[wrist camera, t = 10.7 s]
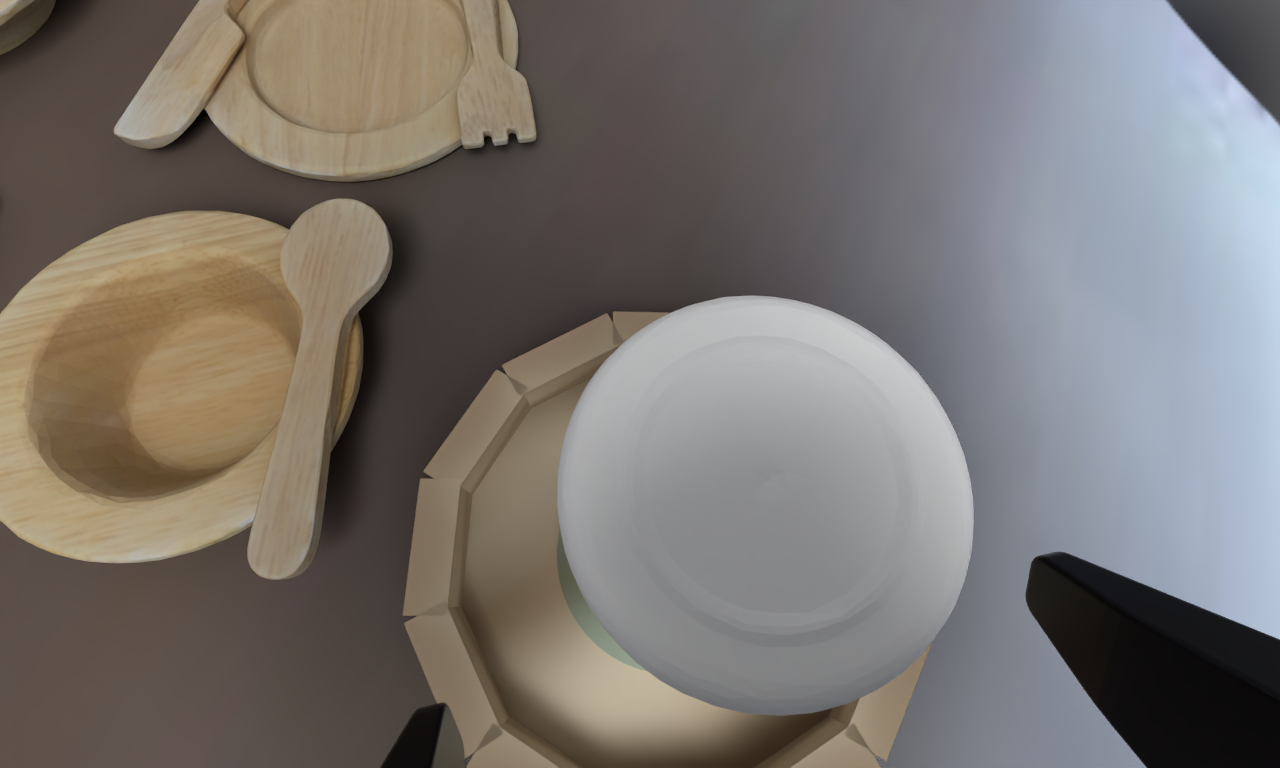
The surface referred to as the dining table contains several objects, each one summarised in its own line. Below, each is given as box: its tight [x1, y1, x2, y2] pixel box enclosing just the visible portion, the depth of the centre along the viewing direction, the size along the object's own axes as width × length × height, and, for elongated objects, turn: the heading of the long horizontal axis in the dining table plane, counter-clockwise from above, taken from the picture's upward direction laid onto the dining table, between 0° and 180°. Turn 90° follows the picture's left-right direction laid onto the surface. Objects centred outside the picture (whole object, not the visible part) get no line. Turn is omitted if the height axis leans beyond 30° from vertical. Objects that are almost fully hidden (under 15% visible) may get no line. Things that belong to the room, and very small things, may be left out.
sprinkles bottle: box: [557, 295, 974, 716], centre depth 13 cm, size 5×5×13 cm
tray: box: [403, 311, 933, 768], centre depth 19 cm, size 15×15×2 cm
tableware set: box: [0, 0, 536, 580], centre depth 22 cm, size 35×29×4 cm
